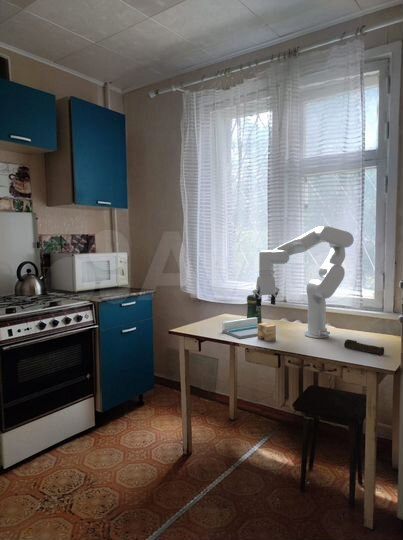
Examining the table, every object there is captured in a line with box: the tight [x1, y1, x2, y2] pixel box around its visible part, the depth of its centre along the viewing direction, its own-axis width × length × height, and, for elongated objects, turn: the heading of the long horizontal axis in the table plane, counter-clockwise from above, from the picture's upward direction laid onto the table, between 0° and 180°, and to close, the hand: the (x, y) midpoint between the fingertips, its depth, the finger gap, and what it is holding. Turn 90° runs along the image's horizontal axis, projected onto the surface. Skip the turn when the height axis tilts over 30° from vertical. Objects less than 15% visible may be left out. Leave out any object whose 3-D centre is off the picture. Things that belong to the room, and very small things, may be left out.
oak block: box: [257, 322, 277, 342], centre depth 210 cm, size 8×6×8 cm
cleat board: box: [221, 317, 258, 340], centre depth 225 cm, size 18×24×6 cm
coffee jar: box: [246, 294, 263, 325], centre depth 249 cm, size 10×8×19 cm
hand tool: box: [343, 338, 385, 357], centre depth 186 cm, size 19×4×5 cm, turn 42°
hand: (265, 305), depth 209 cm, fingers open, 9 cm apart
